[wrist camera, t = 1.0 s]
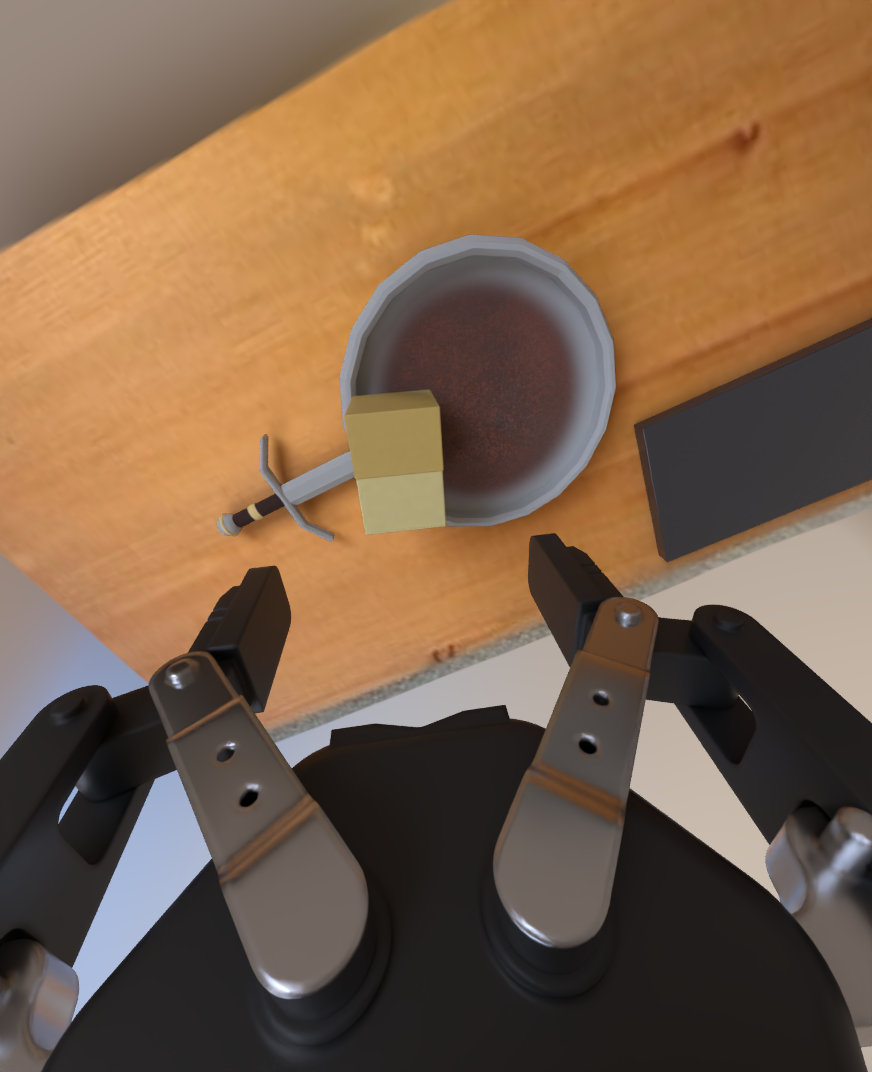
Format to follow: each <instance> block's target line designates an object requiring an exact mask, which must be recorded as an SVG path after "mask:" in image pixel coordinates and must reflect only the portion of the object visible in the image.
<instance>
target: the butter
mask: <svg viewBox="0 0 872 1072" xmlns="http://www.w3.org/2000/svg"><path fill="white" fill-rule="evenodd" d="M344 419H345V425H346V431H347V437H348V442H349V448H350V454H351V460H352V465H353V471H354V477H355V479H356V482H357V487H358V493H359V499H360V505H361V511H362V516H363V522H364V528H365V534H366V535H370V534H379V533H389V532H398V531H407V530H416V529H425V528H435V527H444V526H446V514H445V498H444V482H443V470H444V465H443V448H442V432H441V416H440V407H439V405H438V403H437V401H436V400H435V398H434V396H433V394H432V393H431V391H430V390H418V391H406V392H395V393H384V394H373V395H362V396H353V397H352V399H351V401H350V403H349V406H348V408H347V410H346V412H345V415H344Z"/></svg>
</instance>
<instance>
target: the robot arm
mask: <svg viewBox="0 0 872 1072" xmlns="http://www.w3.org/2000/svg"><path fill="white" fill-rule="evenodd" d="M528 583H529V588H530V592H531V595H532V597H533V599H534V601H535V603H536V604H537V606H538V608H539V610H540V612H541V614H542V616H543V618H544V620H545V621H546V623H547V625H548V627H549V629H550V631H551V633H552V635H553V636H554V638H555V640H556V642H557V644H558V646H559V648H560V649H561V651H562V653H563V655H564V657H565V659H566V661H567V663H568V665H569V667H570V670H569V672H568V675H567V677H566V680H565V682H564V685H563V687H562V690H561V692H560V695H559V698H558V700H557V702H556V705H555V707H554V710H553V713H552V715H551V718H550V720H549V723H548V725H547V728H546V729H545V728H543V727H541V726H538V725H536V724H533V723H530V722H527V721H522V720H517V719H510V718H509V715H508V712H507V709H506V706H505V705H501V706H494V707H487V708H480V709H473V710H466V711H462V712H460V713H457V714H454V715H452V716H449V717H447V718H444V719H442V720H439V721H436V722H434V723H431V724H429V725H426V726H423V727H407V726H396V725H385V724H369V725H362V726H355V727H348V728H341V729H334V730H332V731H331V739H330V745H329V746H326V747H324V748H322V749H320V750H318V751H316V752H314V753H312V754H311V755H309V756H308V757H306V758H305V759H303V760H302V761H300V762H299V763H298V764H297V765H295V766H294V767H293V768H291V767H290V765H289V764H288V762H287V761H286V760H285V758H284V756H283V755H282V754H281V752H280V751H279V749H278V747H277V746H276V745H275V743H274V742H273V740H272V739H271V737H270V736H269V734H268V733H267V731H266V730H265V728H264V727H263V725H262V724H261V722H260V721H259V719H258V718H257V716H256V715H255V713H261V712H264V709H265V706H266V703H267V700H268V696H269V693H270V690H271V687H272V683H273V680H274V677H275V674H276V670H277V667H278V664H279V661H280V657H281V654H282V651H283V647H284V644H285V641H286V638H287V634H288V631H289V628H290V624H291V610H290V605H289V602H288V598H287V595H286V592H285V588H284V585H283V582H282V579H281V575H280V572H279V570H278V568H277V567H276V566H267V567H259V568H251V569H249V570H248V572H247V574H246V575H245V577H244V579H243V581H242V583H241V585H240V586H234V587H232V588H231V589H230V590H229V591H227V592H226V593H225V594H224V595H223V596H222V597H220V599H219V601H218V602H217V604H216V606H215V607H214V609H213V612H211V614H210V616H209V618H208V622H206V623H205V624H204V626H203V628H202V630H201V631H200V633H199V635H198V636H197V638H196V640H195V641H194V643H193V645H192V647H191V648H190V650H189V652H188V653H186V654H183V655H180V656H178V657H176V658H174V659H172V660H170V661H168V662H167V663H165V664H164V665H163V666H162V667H160V668H159V669H158V670H157V671H156V672H155V673H154V675H153V676H152V678H151V679H150V682H149V685H148V686H146V687H143V688H140V689H137V690H134V691H131V692H129V693H126V694H123V695H120V696H117V697H114V698H112V697H111V695H110V694H109V692H108V691H107V689H106V688H104V687H102V686H98V685H92V686H86V687H81V688H78V689H75V690H73V691H70V692H69V693H66V694H64V695H62V696H60V697H59V698H57V699H55V700H54V701H52V702H51V703H50V704H48V705H47V706H46V707H44V708H43V709H42V710H41V711H40V712H39V713H38V714H37V715H36V716H35V717H34V719H33V720H32V721H31V722H30V724H29V725H28V726H27V727H26V729H25V730H24V731H23V732H22V734H21V735H20V736H19V737H18V738H17V740H16V741H15V742H14V743H13V745H12V746H11V747H10V748H9V750H8V751H7V752H6V753H5V754H4V756H3V757H2V758H1V760H0V1072H868V1071H867V1068H866V1065H865V1061H864V1058H863V1054H862V1051H861V1047H867V1046H872V723H871V722H870V721H869V720H868V719H866V718H865V717H864V716H863V715H862V714H861V713H860V712H859V711H857V710H856V709H855V708H854V707H853V706H852V705H851V704H849V703H848V702H847V701H846V700H845V699H844V698H843V697H842V696H841V695H839V694H838V693H837V692H836V691H835V690H834V689H832V687H830V686H829V685H828V684H827V683H826V682H825V681H823V679H821V678H820V677H819V676H818V675H817V674H816V673H815V672H813V671H812V670H811V669H810V668H809V667H808V666H807V665H806V664H805V663H803V662H802V661H801V660H800V659H799V658H798V657H797V656H796V655H794V654H793V653H792V652H791V651H790V650H789V649H788V648H786V647H785V646H784V645H783V644H782V643H781V642H780V641H779V640H778V639H776V638H775V637H774V636H773V635H772V634H771V633H769V631H767V630H766V629H765V628H764V627H763V626H762V625H760V624H759V623H758V622H757V621H756V620H755V619H753V618H752V617H751V616H749V615H748V614H746V613H744V612H742V611H739V610H737V609H734V608H731V607H727V606H722V605H705V606H701V607H699V608H697V609H696V611H695V612H694V615H693V619H692V621H689V620H678V619H668V618H660V617H658V615H657V614H656V612H655V611H654V610H653V609H652V608H651V607H650V606H648V605H647V604H645V603H643V602H641V601H638V600H635V599H632V598H626V597H623V596H622V594H621V593H620V592H619V591H618V590H617V589H616V587H615V586H614V585H613V584H612V583H611V582H610V580H609V579H608V578H607V577H606V576H605V575H604V573H602V572H601V570H600V569H599V568H598V566H597V565H595V563H594V562H593V561H592V559H591V558H590V557H589V556H588V555H587V554H586V553H584V552H583V551H581V550H579V549H577V548H575V547H574V546H571V547H566V546H565V545H564V543H563V542H562V541H561V539H560V538H559V537H558V536H557V535H556V534H555V533H553V534H544V535H536V536H531V538H530V544H529V566H528ZM738 695H740V696H741V697H742V698H743V700H744V701H745V702H746V703H747V704H748V706H749V707H750V708H751V710H752V711H751V710H750V709H749V707H748V706H747V705H746V704H745V703H744V702H743V701H742V699H741V698H740V697H739V696H738ZM646 699H647V700H654V701H660V702H668V703H674V704H675V705H676V707H677V708H678V710H679V711H680V713H681V714H682V716H683V717H684V718H685V720H686V722H687V723H688V725H689V726H690V728H691V729H692V731H693V732H694V734H695V735H696V736H697V738H698V739H699V741H700V742H701V744H702V745H703V747H704V748H705V750H706V751H707V753H708V754H709V756H710V757H711V759H712V760H713V762H714V763H715V765H716V766H717V768H718V769H719V771H720V772H721V773H722V775H723V777H724V778H725V779H726V781H727V782H728V784H729V785H730V787H731V788H732V790H733V791H734V793H735V794H736V796H737V797H738V798H739V800H740V802H741V803H742V805H743V806H744V808H745V809H746V811H747V812H748V814H749V815H750V817H751V818H752V820H753V821H754V823H755V824H756V826H757V827H758V828H759V830H760V831H761V833H762V834H763V836H764V837H765V839H766V840H767V842H768V843H769V845H770V846H769V848H768V850H767V853H766V867H767V871H768V874H769V877H770V879H771V881H772V883H773V885H774V887H775V889H776V891H777V893H778V895H779V898H780V902H781V903H780V902H779V901H778V900H777V899H776V898H775V897H774V896H773V895H772V894H771V893H770V892H769V891H768V890H766V889H765V888H764V887H763V886H761V885H760V884H759V883H758V882H756V881H755V880H754V879H753V878H751V877H750V876H749V875H747V874H746V873H745V872H743V871H742V870H741V869H739V868H738V867H736V866H735V865H734V864H732V863H731V862H730V861H728V860H727V859H726V858H724V857H723V856H721V855H720V854H719V853H717V852H716V851H715V850H713V849H712V848H710V847H709V846H708V845H706V844H705V843H704V842H702V841H701V840H700V839H698V838H697V837H695V836H694V835H693V834H691V833H690V832H689V831H687V830H686V829H684V828H683V827H682V826H681V825H679V824H678V823H676V822H675V821H674V820H672V819H671V818H670V817H668V816H667V815H666V814H664V813H663V812H661V811H660V810H659V809H657V808H656V807H655V806H653V805H652V804H651V803H649V802H648V801H647V800H645V799H644V798H643V797H641V796H640V795H638V794H637V793H636V792H634V791H633V790H632V789H630V781H631V777H632V771H633V766H634V759H635V754H636V749H637V743H638V737H639V733H640V727H641V722H642V716H643V711H644V705H645V700H646ZM175 770H177V771H178V773H179V776H180V779H181V781H182V784H183V786H184V789H185V791H186V794H187V796H188V798H189V801H190V804H191V806H192V809H193V811H194V814H195V816H196V819H197V821H198V824H199V826H200V829H201V832H202V834H203V837H204V839H205V842H206V844H207V847H208V849H209V852H210V854H211V857H212V859H211V860H210V861H209V862H208V863H207V864H206V866H205V867H204V868H203V869H202V870H201V871H200V873H199V874H198V875H197V876H196V877H195V878H194V879H193V881H192V882H191V883H190V884H189V885H188V886H187V887H186V889H185V890H184V891H183V892H182V893H181V895H180V896H179V897H178V898H177V899H176V900H175V901H174V902H173V904H172V905H171V906H170V907H169V908H168V910H166V912H165V913H164V914H163V915H162V916H161V918H160V919H159V920H158V921H157V922H156V923H155V924H154V925H153V927H152V928H151V929H150V930H149V931H148V932H147V934H146V935H145V936H144V937H143V938H142V939H141V941H140V942H139V943H138V944H137V945H136V946H135V947H134V948H133V950H132V951H131V952H130V953H129V954H128V955H127V957H126V958H125V959H124V960H123V961H122V962H121V963H120V965H119V966H118V967H117V968H116V969H115V970H114V972H113V973H112V974H111V975H110V976H109V977H108V978H107V980H106V981H105V982H104V983H103V984H102V986H100V988H99V989H98V990H97V991H96V992H95V993H94V994H93V996H92V997H91V998H90V999H89V1000H88V1002H87V1003H86V1004H85V1005H84V1007H83V1008H82V1009H81V1010H80V1011H79V1013H78V1014H77V1015H76V1017H75V1018H74V1020H73V1021H72V1017H73V1014H74V1011H75V1007H76V1004H77V1000H78V995H79V981H78V976H77V974H76V972H75V971H74V970H73V969H72V967H73V965H74V962H75V960H76V958H77V956H78V953H79V951H80V949H81V947H82V944H83V942H84V940H85V937H86V935H87V933H88V931H89V928H90V926H91V924H92V921H93V919H94V917H95V915H96V912H97V910H98V908H99V906H100V903H101V901H102V899H103V896H104V894H105V892H106V890H107V887H108V885H109V883H110V880H111V878H112V876H113V874H114V871H115V869H116V867H117V864H118V862H119V860H120V858H121V855H122V853H123V851H124V848H125V846H126V844H127V842H128V839H129V837H130V835H131V832H132V830H133V828H134V826H135V823H136V821H137V819H138V816H139V814H140V812H141V809H142V807H143V805H144V803H145V801H146V798H147V796H148V794H149V792H150V789H151V787H152V785H153V782H154V780H155V779H156V778H158V777H160V776H163V775H165V774H168V773H170V772H173V771H175ZM75 786H76V787H77V788H78V792H77V794H76V795H75V797H74V799H73V801H72V802H71V804H70V806H69V807H68V809H67V811H66V812H65V814H64V816H63V818H62V819H61V821H60V822H59V824H58V821H59V815H60V812H61V810H62V807H63V805H64V804H65V802H66V800H67V799H68V797H69V795H70V794H71V792H72V790H73V789H74V787H75Z"/></svg>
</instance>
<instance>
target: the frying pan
mask: <svg viewBox="0 0 872 1072" xmlns="http://www.w3.org/2000/svg"><path fill="white" fill-rule="evenodd" d="M340 389H341V404H342V418H343V426H344V428H345V431H346V425H345V419H344V415H345V412H346V410H347V408H348V406H349V403H350V401H351V399H352V397H353V396H362V395H373V394H384V393H395V392H406V391H418V390H430V391H431V393H432V394H433V396H434V398H435V400H436V401H437V403H438V405H439V407H440V416H441V432H442V448H443V465H444V470H443V482H444V498H445V514H446V525H448V526H452V527H456V526H493V525H496V524H499V523H503V522H506V521H510V520H513V519H516V518H520V517H523V516H527V515H528V514H530V513H531V512H533V511H535V510H536V509H538V508H539V507H541V506H543V505H544V504H546V503H547V502H549V501H551V500H552V499H554V498H555V497H557V496H559V495H560V494H561V493H562V491H563V490H564V489H565V488H566V487H567V486H568V485H569V484H570V483H571V482H572V481H573V480H574V479H575V478H576V477H577V476H578V474H579V473H580V472H581V471H582V470H583V469H584V468H585V467H586V466H587V464H588V462H589V460H590V458H591V456H592V455H593V453H594V451H595V449H596V447H597V445H598V443H599V442H600V440H601V438H602V436H603V434H604V432H605V431H606V428H607V423H608V419H609V415H610V410H611V406H612V402H613V397H614V393H615V389H616V376H615V359H614V343H613V337H612V334H611V332H610V329H609V327H608V324H607V322H606V319H605V317H604V314H603V312H602V309H601V306H600V304H599V301H598V299H597V296H596V295H595V293H594V292H593V291H592V290H591V289H590V288H589V287H588V286H587V284H586V283H585V282H584V281H583V280H582V279H581V278H580V277H579V275H578V274H577V273H576V272H575V271H574V270H573V269H572V268H571V267H570V265H569V264H568V263H567V262H566V261H565V260H564V259H562V258H560V257H558V256H556V255H554V254H552V253H550V252H548V251H546V250H544V249H542V248H540V247H538V246H536V245H534V244H532V243H530V242H528V241H526V240H524V239H522V238H517V237H501V236H485V235H467V236H464V237H461V238H458V239H455V240H452V241H449V242H446V243H443V244H440V245H437V246H434V247H431V248H428V249H425V250H422V251H420V252H419V253H417V254H416V255H415V256H414V257H412V258H411V259H410V260H409V261H407V262H406V263H405V264H404V265H403V266H401V267H400V268H399V269H398V270H396V271H395V272H394V273H393V274H391V275H390V276H389V277H388V278H387V279H385V280H384V281H383V282H382V283H380V284H379V285H378V287H377V289H376V290H375V292H374V294H373V295H372V297H371V298H370V300H369V302H368V303H367V305H366V306H365V308H364V310H363V311H362V313H361V315H360V316H359V318H358V319H357V321H356V323H355V324H354V326H353V327H352V329H351V333H350V337H349V341H348V346H347V350H346V354H345V358H344V362H343V366H342V370H341V374H340ZM346 433H347V431H346ZM260 472H261V474H262V475H263V477H264V478H265V480H266V481H267V482H268V484H269V485H270V486H271V488H272V489H273V491H274V492H275V493H276V494H274V495H272V496H270V497H268V498H266V499H264V500H262V501H260V502H258V503H253V504H251V505H249V506H248V507H247V508H246V509H244V510H242V511H240V512H238V513H236V514H226V513H225V514H222V515H221V516H220V518H219V520H218V523H217V527H218V529H219V531H220V532H221V533H222V534H224V535H227V536H237V535H238V534H239V532H240V531H241V528H242V527H243V526H245V525H247V524H249V523H251V522H253V521H255V520H260V519H262V518H263V517H264V516H265V515H267V514H269V513H271V512H273V511H275V510H277V509H279V508H281V507H283V506H285V507H286V508H287V510H288V511H289V512H290V514H291V515H292V517H293V518H294V519H295V521H296V522H297V523H298V525H299V526H300V527H301V528H303V529H305V530H307V531H309V532H311V533H314V534H316V535H318V536H320V537H322V538H324V539H326V540H329V541H331V542H332V541H333V539H334V534H333V533H331V532H329V531H327V530H325V529H323V528H321V527H319V526H317V525H314V524H312V523H310V522H308V521H307V520H306V519H305V517H304V516H303V514H302V513H301V512H300V510H299V509H298V507H297V505H299V504H301V503H303V502H305V501H307V500H309V499H311V498H313V497H315V496H317V495H319V494H321V493H323V492H325V491H327V490H329V489H331V488H333V487H335V486H337V485H339V484H341V483H343V482H345V481H347V480H349V479H351V478H353V477H354V471H353V465H352V460H351V454H350V451H348V452H346V453H344V454H342V455H340V456H338V457H336V458H334V459H332V460H330V461H328V462H326V463H324V464H322V465H320V466H318V467H316V468H314V469H313V470H311V471H309V472H307V473H305V474H303V475H301V476H299V477H297V478H295V479H293V480H291V481H289V482H287V483H285V484H283V485H281V484H280V482H279V481H278V479H277V478H276V477H275V475H274V474H273V472H272V471H271V470H270V468H269V467H268V436H267V434H265V435H264V436H263V437H262V438H261V439H260Z"/></svg>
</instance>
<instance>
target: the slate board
mask: <svg viewBox="0 0 872 1072" xmlns="http://www.w3.org/2000/svg"><path fill="white" fill-rule="evenodd" d="M634 428H635V433H636V438H637V443H638V448H639V454H640V459H641V464H642V469H643V474H644V479H645V485H646V490H647V495H648V500H649V505H650V511H651V516H652V521H653V526H654V531H655V537H656V542H657V547H658V552H659V555H660V556H661V557H662V558H663V559H664V560H665V561H666V562H669V561H672V560H674V559H677V558H679V557H682V556H684V555H686V554H689V553H691V552H694V551H696V550H699V549H701V548H704V547H706V546H709V545H711V544H714V543H716V542H718V541H721V540H723V539H726V538H728V537H731V536H733V535H736V534H738V533H741V532H743V531H745V530H748V529H750V528H753V527H755V526H758V525H760V524H763V523H765V522H768V521H770V520H773V519H775V518H777V517H780V516H782V515H785V514H787V513H790V512H792V511H795V510H797V509H800V508H802V507H805V506H807V505H809V504H812V503H814V502H817V501H819V500H822V499H824V498H827V497H829V496H832V495H834V494H836V493H839V492H841V491H844V490H846V489H849V488H851V487H854V486H856V485H859V484H861V483H864V482H866V481H868V480H871V479H872V318H871V319H869V320H867V321H865V322H862V323H860V324H858V325H856V326H853V327H851V328H849V329H847V330H845V331H842V332H840V333H838V334H836V335H833V336H831V337H829V338H827V339H824V340H822V341H820V342H818V343H816V344H813V345H811V346H809V347H807V348H804V349H802V350H800V351H798V352H796V353H793V354H791V355H789V356H787V357H784V358H782V359H780V360H778V361H775V362H773V363H771V364H769V365H767V366H764V367H762V368H760V369H758V370H755V371H753V372H751V373H749V374H746V375H744V376H742V377H740V378H738V379H735V380H733V381H731V382H729V383H726V384H724V385H722V386H720V387H717V388H715V389H713V390H711V391H709V392H706V393H704V394H702V395H700V396H697V397H695V398H693V399H691V400H689V401H686V402H684V403H682V404H680V405H677V406H675V407H673V408H671V409H668V410H666V411H664V412H662V413H660V414H657V415H655V416H653V417H651V418H648V419H646V420H644V421H642V422H639V423H637V424H635V425H634Z"/></svg>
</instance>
